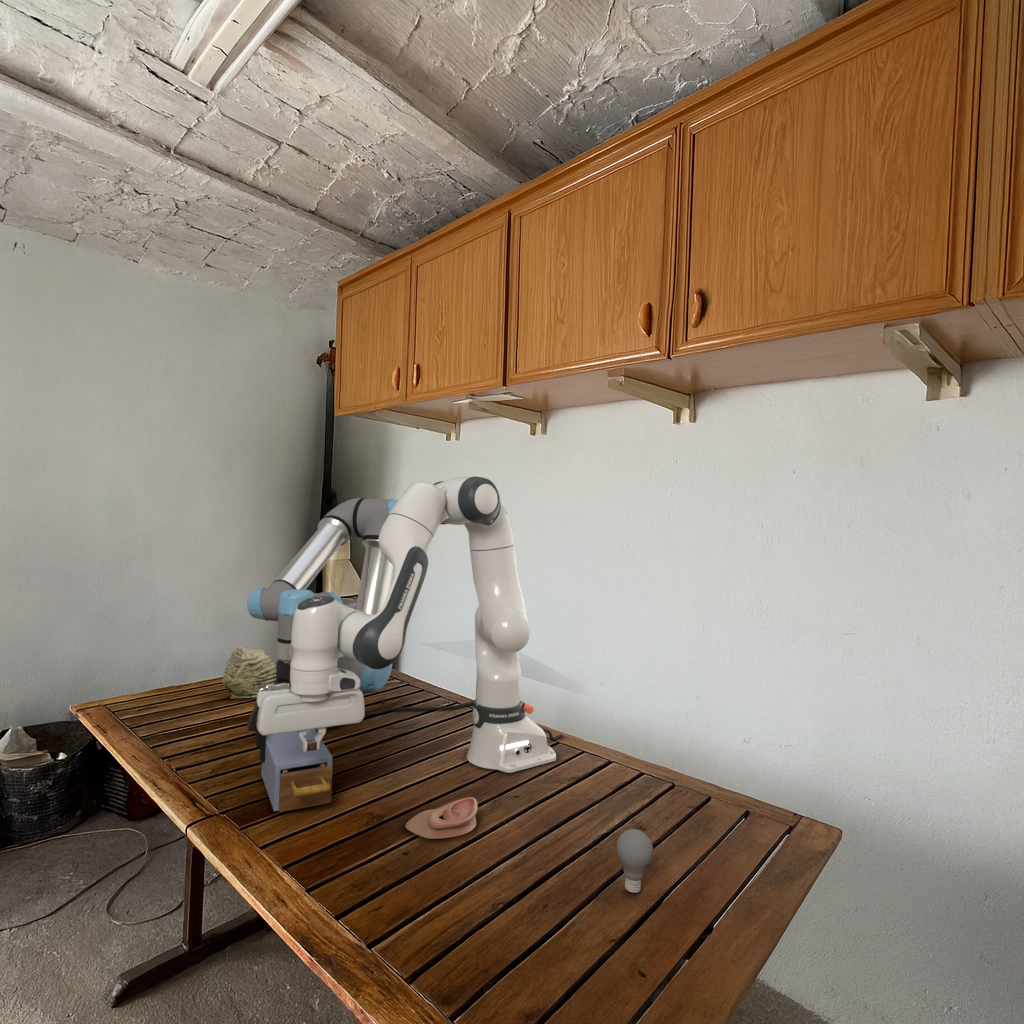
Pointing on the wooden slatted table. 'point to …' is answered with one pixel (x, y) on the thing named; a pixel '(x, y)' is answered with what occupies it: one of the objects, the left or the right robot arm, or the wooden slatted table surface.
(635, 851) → the light bulb
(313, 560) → the left robot arm
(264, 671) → the fossil
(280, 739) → the cabinet
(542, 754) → the right robot arm
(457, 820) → the anatomical model
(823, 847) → the wooden slatted table surface
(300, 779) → the drawer
